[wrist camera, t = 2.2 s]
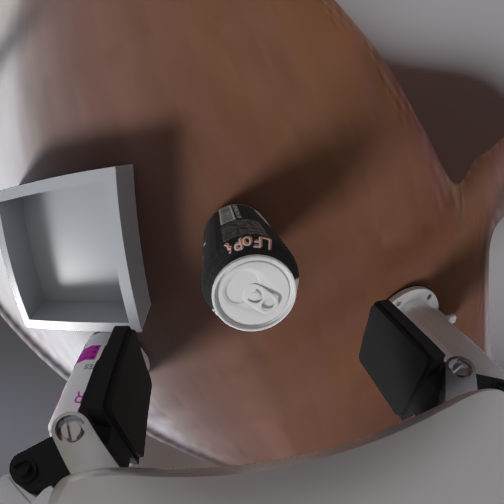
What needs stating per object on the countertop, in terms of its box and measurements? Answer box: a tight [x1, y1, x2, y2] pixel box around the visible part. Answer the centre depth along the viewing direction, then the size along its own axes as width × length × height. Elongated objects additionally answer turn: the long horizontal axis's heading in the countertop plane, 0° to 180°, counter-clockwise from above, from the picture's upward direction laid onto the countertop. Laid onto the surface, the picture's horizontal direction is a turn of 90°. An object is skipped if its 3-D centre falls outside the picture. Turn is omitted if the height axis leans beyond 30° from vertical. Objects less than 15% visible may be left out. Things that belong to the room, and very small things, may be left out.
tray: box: [0, 164, 151, 332], centre depth 21 cm, size 14×14×5 cm
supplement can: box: [48, 332, 150, 467], centre depth 22 cm, size 8×8×15 cm
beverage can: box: [201, 204, 299, 331], centre depth 20 cm, size 6×6×12 cm
